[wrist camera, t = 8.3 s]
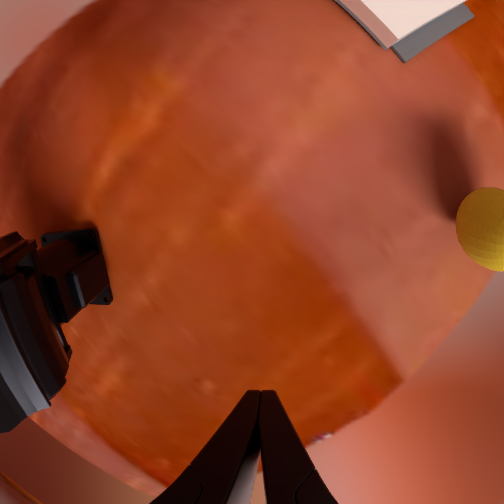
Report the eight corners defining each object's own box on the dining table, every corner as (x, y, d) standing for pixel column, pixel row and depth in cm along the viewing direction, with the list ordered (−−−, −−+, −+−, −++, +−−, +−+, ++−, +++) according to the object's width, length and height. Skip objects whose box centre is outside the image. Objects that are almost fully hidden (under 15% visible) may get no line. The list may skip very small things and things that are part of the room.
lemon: (435, 250, 20) (494, 294, 12) (439, 178, 18) (510, 197, 10) (483, 246, 19) (542, 284, 12) (488, 182, 18) (556, 201, 10)
